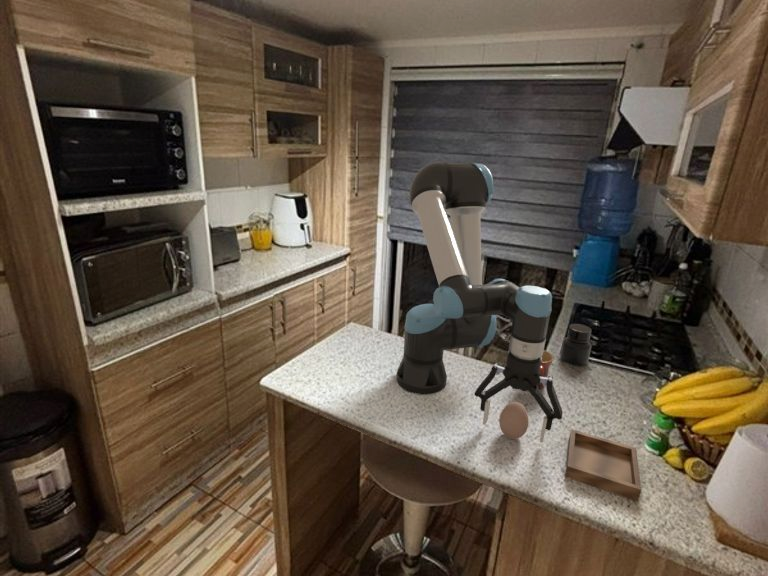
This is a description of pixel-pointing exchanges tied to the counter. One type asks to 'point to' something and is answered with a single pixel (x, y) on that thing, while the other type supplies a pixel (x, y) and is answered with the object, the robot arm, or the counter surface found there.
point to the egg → (514, 420)
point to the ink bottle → (576, 345)
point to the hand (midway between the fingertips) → (512, 430)
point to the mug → (545, 366)
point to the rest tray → (603, 464)
